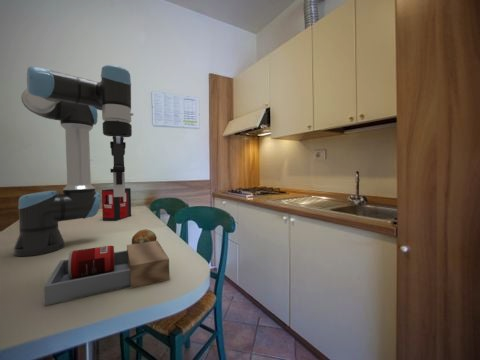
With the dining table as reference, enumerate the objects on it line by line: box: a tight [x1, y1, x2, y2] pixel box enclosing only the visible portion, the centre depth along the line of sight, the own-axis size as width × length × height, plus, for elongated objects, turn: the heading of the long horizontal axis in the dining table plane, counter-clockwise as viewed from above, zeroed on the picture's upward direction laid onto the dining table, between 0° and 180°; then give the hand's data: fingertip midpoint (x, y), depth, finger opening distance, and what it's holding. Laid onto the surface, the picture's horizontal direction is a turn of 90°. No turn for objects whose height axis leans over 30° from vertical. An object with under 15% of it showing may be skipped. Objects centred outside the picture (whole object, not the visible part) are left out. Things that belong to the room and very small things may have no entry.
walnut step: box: [126, 240, 170, 289], centre depth 72 cm, size 10×20×6 cm, turn 29°
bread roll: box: [131, 228, 158, 244], centre depth 99 cm, size 10×10×8 cm
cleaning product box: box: [101, 187, 132, 222], centre depth 154 cm, size 16×9×20 cm, turn 172°
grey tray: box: [43, 249, 131, 306], centre depth 65 cm, size 18×18×4 cm
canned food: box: [67, 245, 115, 279], centre depth 68 cm, size 8×8×11 cm
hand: (118, 194), depth 68 cm, fingers open, 13 cm apart
